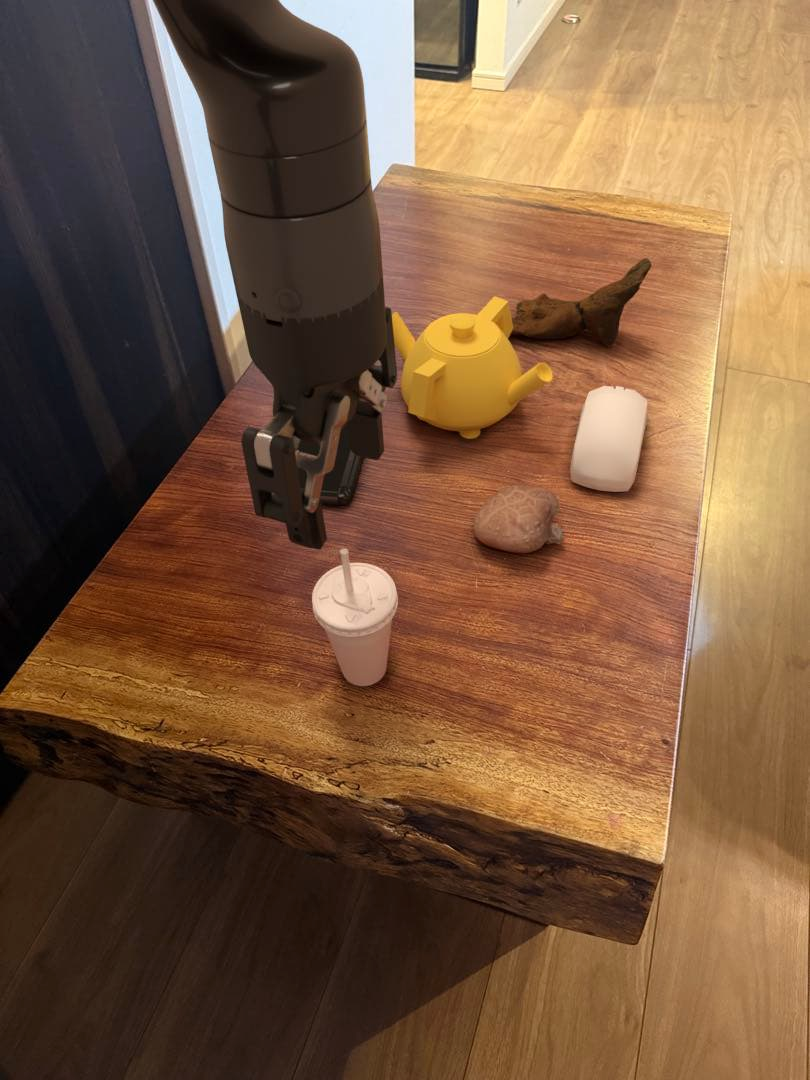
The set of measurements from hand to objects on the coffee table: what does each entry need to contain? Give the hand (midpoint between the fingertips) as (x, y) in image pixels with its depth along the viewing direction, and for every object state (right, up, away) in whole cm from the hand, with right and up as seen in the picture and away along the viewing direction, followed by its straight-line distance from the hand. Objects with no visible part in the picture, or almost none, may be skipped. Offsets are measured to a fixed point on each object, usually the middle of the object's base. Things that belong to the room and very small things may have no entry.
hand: (339, 496), depth 54 cm
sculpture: (+23, +21, +44) cm, 54 cm away
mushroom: (+15, -2, +24) cm, 28 cm away
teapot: (+10, +11, +37) cm, 40 cm away
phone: (-4, +6, +33) cm, 33 cm away
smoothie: (+1, -13, +15) cm, 20 cm away
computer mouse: (+25, +6, +31) cm, 40 cm away
